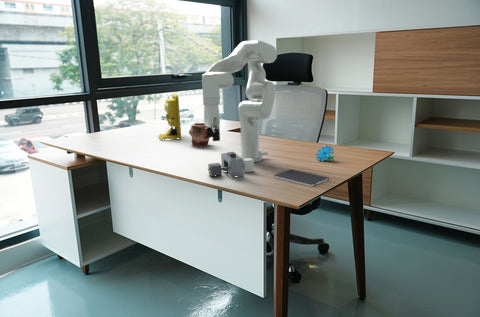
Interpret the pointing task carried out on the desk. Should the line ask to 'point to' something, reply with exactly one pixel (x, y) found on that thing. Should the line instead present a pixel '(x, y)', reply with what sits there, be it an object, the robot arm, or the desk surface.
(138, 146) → the desk surface
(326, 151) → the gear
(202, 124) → the decorative planter
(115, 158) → the desk surface
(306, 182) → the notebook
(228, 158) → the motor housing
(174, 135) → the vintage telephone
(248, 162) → the plug
